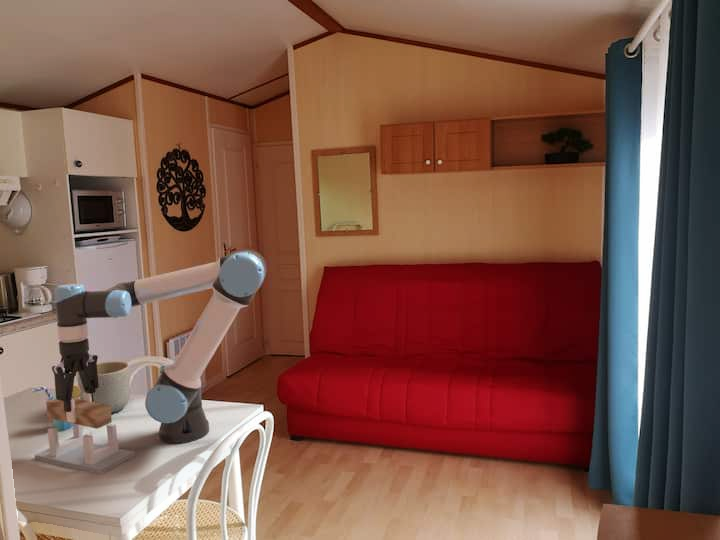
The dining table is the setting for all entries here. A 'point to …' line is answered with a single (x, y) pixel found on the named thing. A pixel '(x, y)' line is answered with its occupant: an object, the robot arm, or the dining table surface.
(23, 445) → the dining table surface
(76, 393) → the cup
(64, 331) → the robot arm
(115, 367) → the planter
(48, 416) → the rail
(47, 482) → the dining table surface
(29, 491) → the dining table surface
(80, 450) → the bracket board
